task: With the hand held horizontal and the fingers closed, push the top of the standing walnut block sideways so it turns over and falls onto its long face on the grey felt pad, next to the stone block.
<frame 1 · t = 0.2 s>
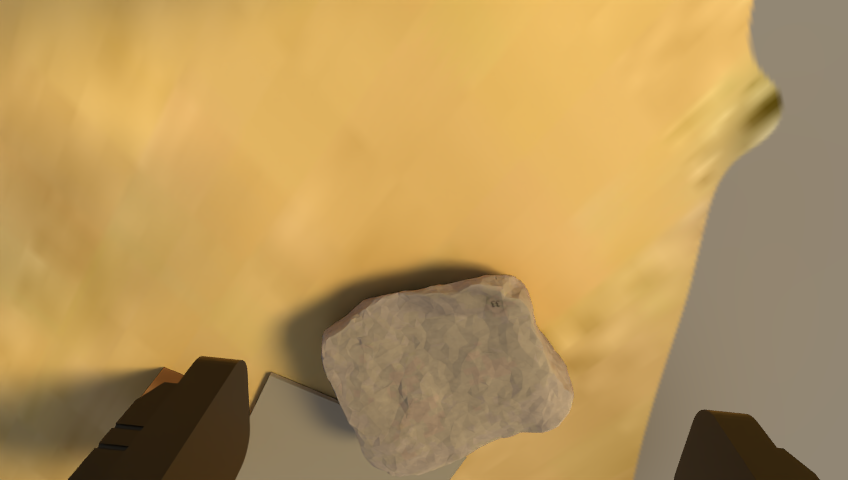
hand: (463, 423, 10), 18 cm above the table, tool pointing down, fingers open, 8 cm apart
stone block: (440, 343, 30), on the table, touching felt pad
felt pad: (339, 467, 34), on the table
walnut block: (189, 407, 33), on the table
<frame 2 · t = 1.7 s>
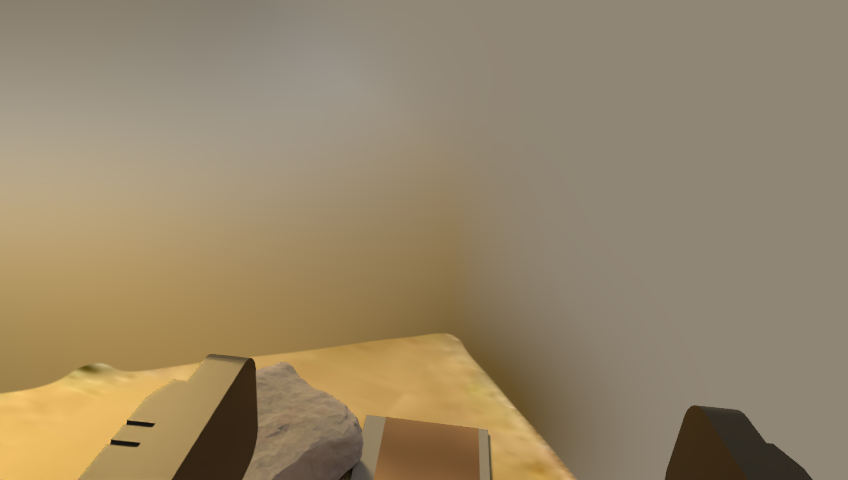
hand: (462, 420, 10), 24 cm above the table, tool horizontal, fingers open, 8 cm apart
stone block: (267, 456, 40), on the table, touching felt pad
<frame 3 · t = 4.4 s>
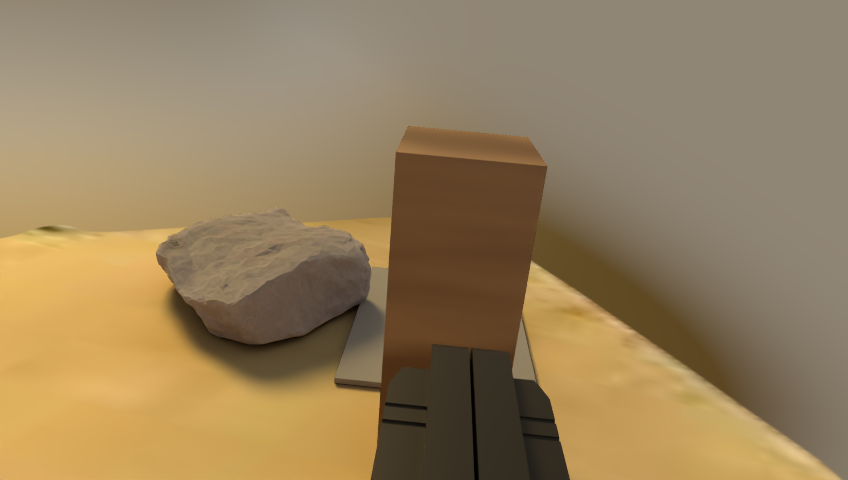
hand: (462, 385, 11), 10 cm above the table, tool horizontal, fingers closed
stone block: (256, 296, 34), on the table, touching felt pad
felt pad: (439, 324, 32), on the table
walnut block: (434, 446, 23), on the table
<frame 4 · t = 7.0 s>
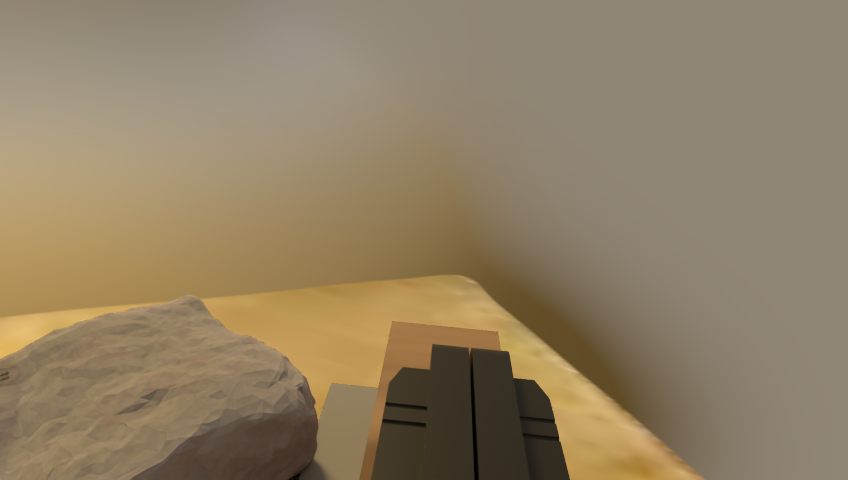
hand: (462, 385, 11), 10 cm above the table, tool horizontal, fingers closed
stone block: (138, 455, 21), on the table, touching felt pad
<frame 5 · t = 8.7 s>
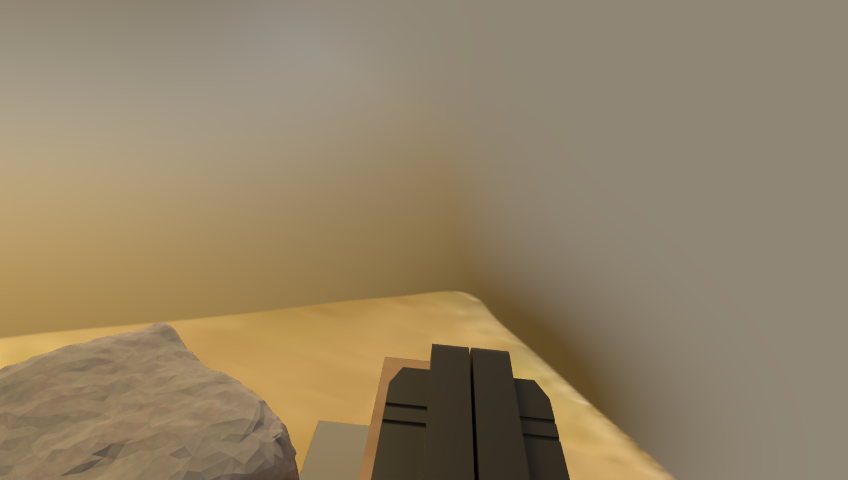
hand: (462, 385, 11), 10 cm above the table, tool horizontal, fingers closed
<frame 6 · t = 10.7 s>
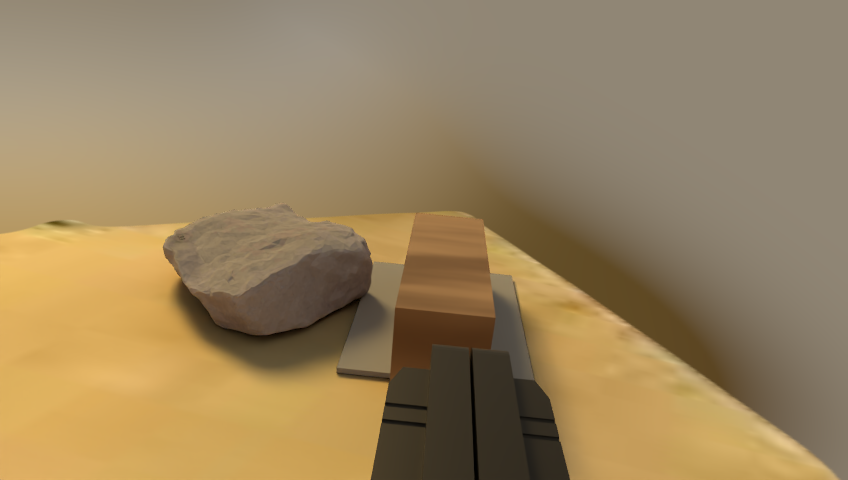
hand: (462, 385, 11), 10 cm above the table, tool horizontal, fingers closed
stone block: (260, 289, 34), on the table, touching felt pad
felt pad: (439, 317, 33), on the table
walnut block: (440, 355, 25), point 3 cm above the table, tilted 90°, touching felt pad
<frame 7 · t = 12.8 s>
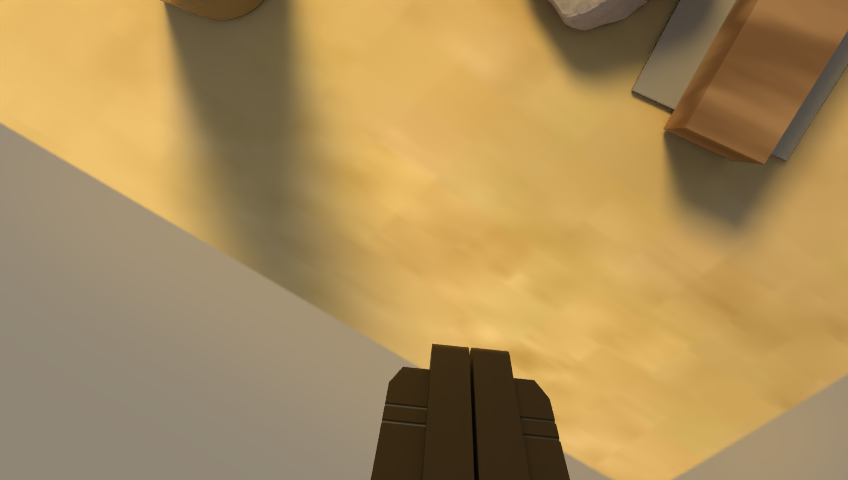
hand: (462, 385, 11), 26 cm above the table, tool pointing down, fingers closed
felt pad: (767, 21, 31), on the table
walnut block: (710, 145, 31), point 3 cm above the table, tilted 90°, touching felt pad
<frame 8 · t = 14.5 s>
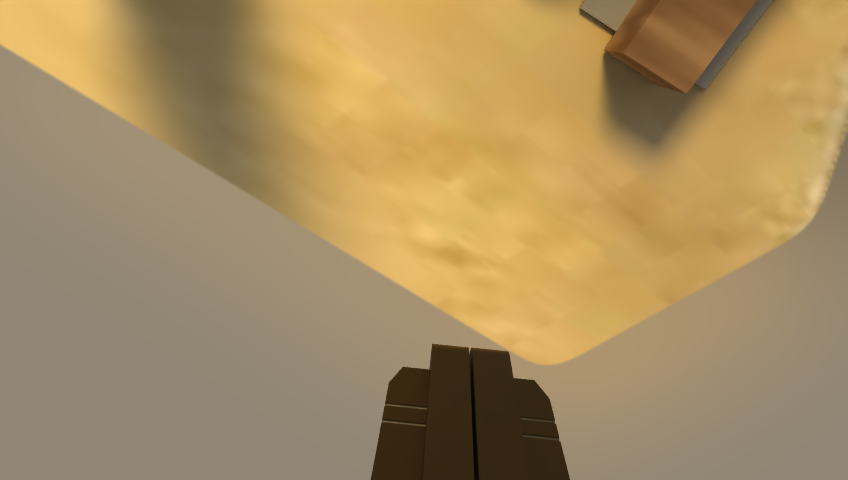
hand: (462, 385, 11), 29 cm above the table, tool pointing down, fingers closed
walnut block: (642, 70, 33), point 3 cm above the table, tilted 90°, touching felt pad
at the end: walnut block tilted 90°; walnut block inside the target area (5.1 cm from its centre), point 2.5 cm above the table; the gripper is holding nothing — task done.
